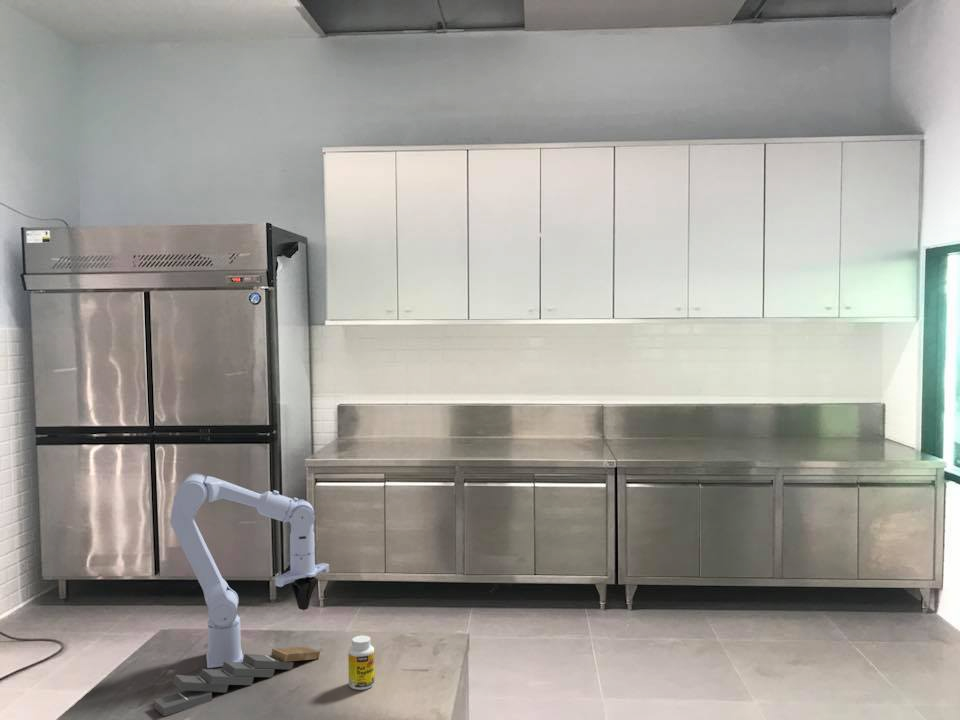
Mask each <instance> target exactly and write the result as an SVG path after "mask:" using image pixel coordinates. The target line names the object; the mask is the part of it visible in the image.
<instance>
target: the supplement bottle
mask: <svg viewBox="0 0 960 720" xmlns="http://www.w3.org/2000/svg"><path fill="white" fill-rule="evenodd" d="M371 643H372V641H371V637H370V636H368V635H357V636H355V637H353V638H352V639H351V646H350V647H349V648H348V652H347V653H348V685H349V687H350V688H351V689H353V690H358V691H365V690H367V689H370V688H372V687H373V686H374V684H375V648H374V646H373V645H372V644H371Z"/></svg>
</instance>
